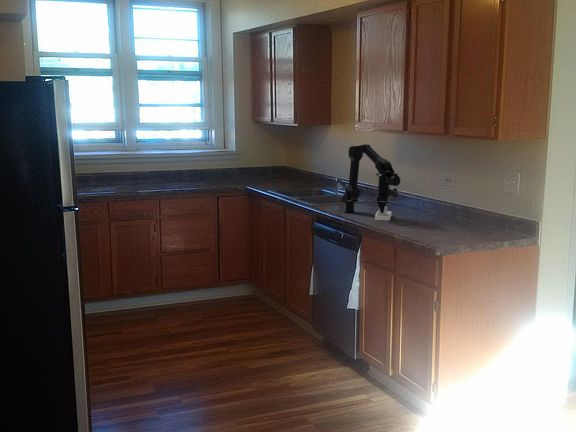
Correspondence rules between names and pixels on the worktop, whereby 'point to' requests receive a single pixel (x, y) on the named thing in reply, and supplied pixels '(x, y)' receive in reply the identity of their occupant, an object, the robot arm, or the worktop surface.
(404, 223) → the worktop surface
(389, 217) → the power strip
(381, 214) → the box
